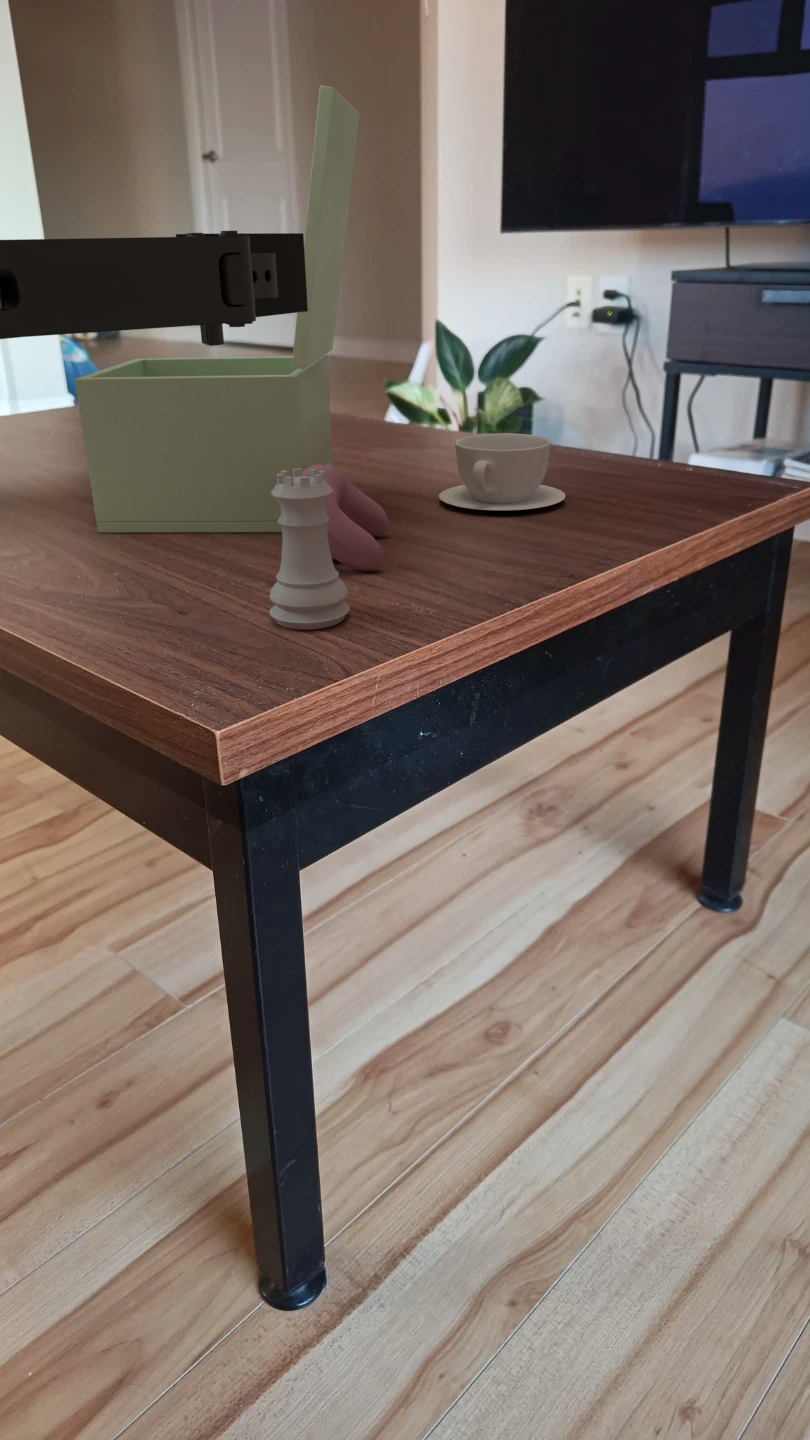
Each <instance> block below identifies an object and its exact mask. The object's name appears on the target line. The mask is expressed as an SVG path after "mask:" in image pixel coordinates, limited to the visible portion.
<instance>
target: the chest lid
mask: <svg viewBox="0 0 810 1440" xmlns="http://www.w3.org/2000/svg"><path fill="white" fill-rule="evenodd" d="M360 115H361V113H360V111H358V110H357V108H355V107H354V105H352V104H351V103H350V102H349V101H348V100H347V99H346V98H345V97H344V96H343V95H341V93H340V92H339V91H338V90H337V89H335V87H333V86H327V85H319V91H318V102H317V110H316V120H315V121H316V122H315V132H314V139H313V140H314V141H313V151H312V159H311V160H312V161H311V170H310V171H311V172H310V173H311V174H310V181H309V191H308V201H307V211H306V221H305V231H304V253H305V270H306V288H307V305H308V311H306V312H297V313H296V321H295V329H294V339H293V349H292V356H293V359H292V367H293V368H298V369H305V368H306V367H308V366H309V365H311V364H312V363H313V362H315V361H316V360H318V359H319V358H321V357H322V356H326V355H327V354H329V352H331V351H332V350H333V346H334V339H335V331H336V330H335V329H336V321H337V315H338V314H337V313H338V304H339V295H340V288H341V287H340V286H341V278H342V269H343V261H344V252H345V245H346V244H345V242H346V235H347V227H348V220H349V219H348V217H349V210H350V200H351V191H352V183H353V176H354V175H353V174H354V167H355V157H356V151H357V150H356V149H357V140H358V133H359V125H360V124H359V123H360Z"/></svg>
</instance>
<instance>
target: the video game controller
mask: <svg viewBox="0 0 810 1440" xmlns="http://www.w3.org/2000/svg"><path fill="white" fill-rule="evenodd" d="M309 469H318V471H324V472H325V480H326V482H327V483H328V485H329V486H330V487H331V488H332V490H333V492H332V494H331V495H330V497H329V498H328V500H327V502H326V505H325V510H326V514H327V515H328V516H329V518H330V520H329V522H328V523H327V534H328V542H329V547H330V552H331V557H332V561H333V560H336V561H337V562H340V563H341V564H342V565H345V566H347V567H348V568H350V569H355V570H357V571H361V572H374V571H377V569H379V567H380V566H381V565H382V563H383V561H384V554H383V553H384V552H383V548H382V546H381V545H380V543H378V541H377V540H376V539H375V538H380V537H382V536H384V535H385V534H386V533H387V532H388V529H389V528H390V523H389V522H390V520H389V517H388V514H387V513H386V511H385V510H384V509H383V507H382V506H381V505H380V504H379V503H378V502H376V501H375V500H374V499H372V498H371V497H370V496H368V495H367V494H365V493H363V491H361V490H359V488H357V487H356V486H355V485H354V484H352V482H350V480H349V479H348V478H347V477H346V476H345V474H343V473H342V472H341V471H340V470H338V469H335V468H334V466H333V467H332V464H331V463H328V465H321V464H316V465H312V466H310V467H308V468H306V469H304V470H302V476H308V477H309ZM374 537H375V538H374Z"/></svg>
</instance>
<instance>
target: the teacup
mask: <svg viewBox="0 0 810 1440" xmlns="http://www.w3.org/2000/svg"><path fill="white" fill-rule="evenodd" d="M551 446H552V441H551V439H549V438H547V437H545V436H542V435H541V436H540V435H535V434H527V433H514V432H513V433H511V432H496V433H480V434H474V435H468V436H463V437H460V438H457V440H455V442H454V448H455V455H456V464H457V470H458V474H459V478H460V479H461V481H462V484H461V485H457V486H451V487H449V488H447V489H445V490H442V491H441V492H440V493H439V494H438V498H439V499H440V501H442V502H444V503H445V504H448V505H450V506H454V507H458V508H463V509H471V510H478V511H479V510H480V511H499V512H501V511H503V512H504V511H525V510H533V509H538V508H539V509H540V508H545V507H550V506H552V505H556V504H558V503H561V502H562V501H564V500H565V498H566V493H564V491H563V490H560V489H558V488H556V487H553V486H549V485H544V484H542V482H543V480H544V478H545V477H546V473H547V471H548V470H547V469H548V465H549V459H550V452H551Z"/></svg>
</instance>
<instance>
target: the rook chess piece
mask: <svg viewBox="0 0 810 1440" xmlns="http://www.w3.org/2000/svg"><path fill="white" fill-rule="evenodd" d="M332 492H333V490H332V488H331V487H330V486H329V485H328V483H327V482H326V480H325V472H324V471H318V469H309V477H308V476H302V468H300V469H293V477H289V472H288V471H286V470H284V471H281V472H279V474H277V484H276V486H275V487H274V489H273V490H272V492H271V494H272V495H273V497H274V498H275V499H276V500H277V502H278V503H279V504H280V506H281V516H280V518H279V519H278V523H279V524H280V525H281V526H282V532H281V536H282V537H281V538H282V541H281V542H282V543H281V560H280V561H281V562H280V566H279V570H278V573H277V574H276V576H275V578H276V582H275V583H274V584H273V586H272V587H271V588H270V591H269V595H268V596H269V599H270V601H271V602H272V603H273V604H274V605H273V606H272V607H271V608H270V609H269V614H270V617H272V619H273V620H274V621H275V623H276V624H277V625H279V626H281V627H283V628H286V629H292V630H306V631H307V630H309V631H311V630H320V629H325V628H329V627H333V626H336V625H338V624H339V623H342V622H343V620H344V619H345V617H346V616H347V614H348V613H349V611H350V609H351V608H350V606H349V604H348V603H347V602H346V601H344V600H345V599H346V597H347V596H348V594H349V592H348V589H347V585H346V584H345V583H344V581H343V580H341V579H340V578H339V577H340V573H339V572H338V570H337V569H336V567H335V565H334V562H333V560H332V557H331V552H330V547H329V542H328V534H327V523H328V522H329V520H330V518H329V516H328V515H327V514H326V510H325V505H326V502H327V500H328V498H329V497H330V495H331V494H332Z"/></svg>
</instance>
